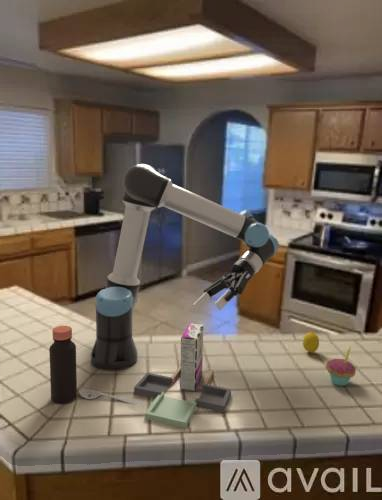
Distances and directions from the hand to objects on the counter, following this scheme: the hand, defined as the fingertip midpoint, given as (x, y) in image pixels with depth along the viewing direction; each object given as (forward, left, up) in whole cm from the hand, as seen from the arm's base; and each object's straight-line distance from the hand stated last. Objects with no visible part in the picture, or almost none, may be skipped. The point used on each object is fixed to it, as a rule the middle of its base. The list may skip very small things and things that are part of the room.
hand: (206, 307), depth 126 cm
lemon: (+33, +23, -20) cm, 45 cm away
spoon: (-18, -28, -21) cm, 39 cm away
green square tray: (-1, -28, -20) cm, 34 cm away
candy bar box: (-1, -11, -20) cm, 23 cm away
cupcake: (+42, +5, -20) cm, 47 cm away
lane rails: (-1, -10, -20) cm, 22 cm away
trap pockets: (-1, -19, -20) cm, 28 cm away
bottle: (-31, -32, -20) cm, 49 cm away
